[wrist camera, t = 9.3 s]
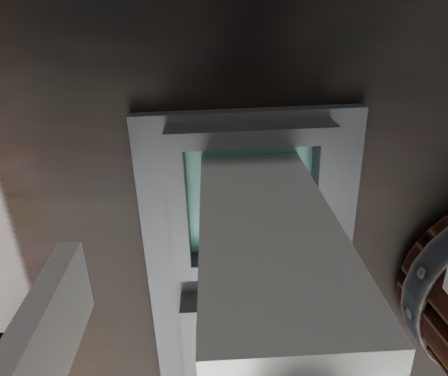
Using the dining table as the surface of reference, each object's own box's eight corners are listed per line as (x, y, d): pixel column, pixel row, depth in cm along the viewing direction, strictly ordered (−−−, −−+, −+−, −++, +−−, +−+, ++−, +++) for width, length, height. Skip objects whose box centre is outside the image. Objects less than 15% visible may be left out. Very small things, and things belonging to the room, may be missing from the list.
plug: (201, 156, 19) (192, 463, 6) (296, 152, 19) (473, 446, 7) (206, 251, 21) (208, 620, 9) (292, 246, 21) (418, 604, 9)
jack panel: (129, 112, 19) (119, 126, 17) (362, 103, 19) (382, 116, 17) (164, 385, 27) (160, 419, 25) (332, 375, 27) (343, 408, 25)
